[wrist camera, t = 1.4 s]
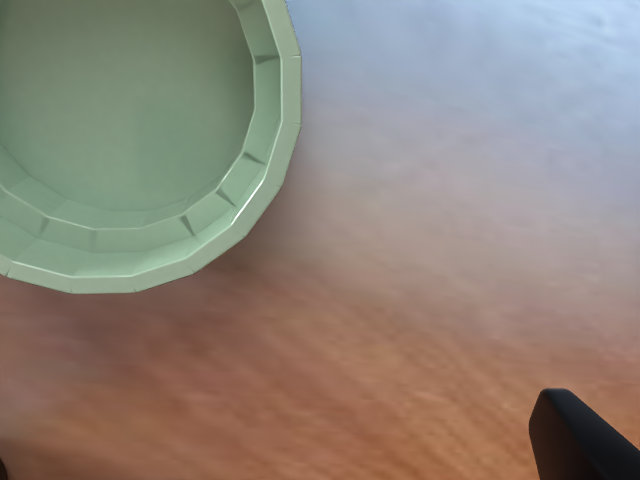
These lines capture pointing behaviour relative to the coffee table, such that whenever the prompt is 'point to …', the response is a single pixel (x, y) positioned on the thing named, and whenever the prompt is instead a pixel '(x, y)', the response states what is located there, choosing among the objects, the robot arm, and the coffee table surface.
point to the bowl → (139, 135)
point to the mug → (2, 472)
